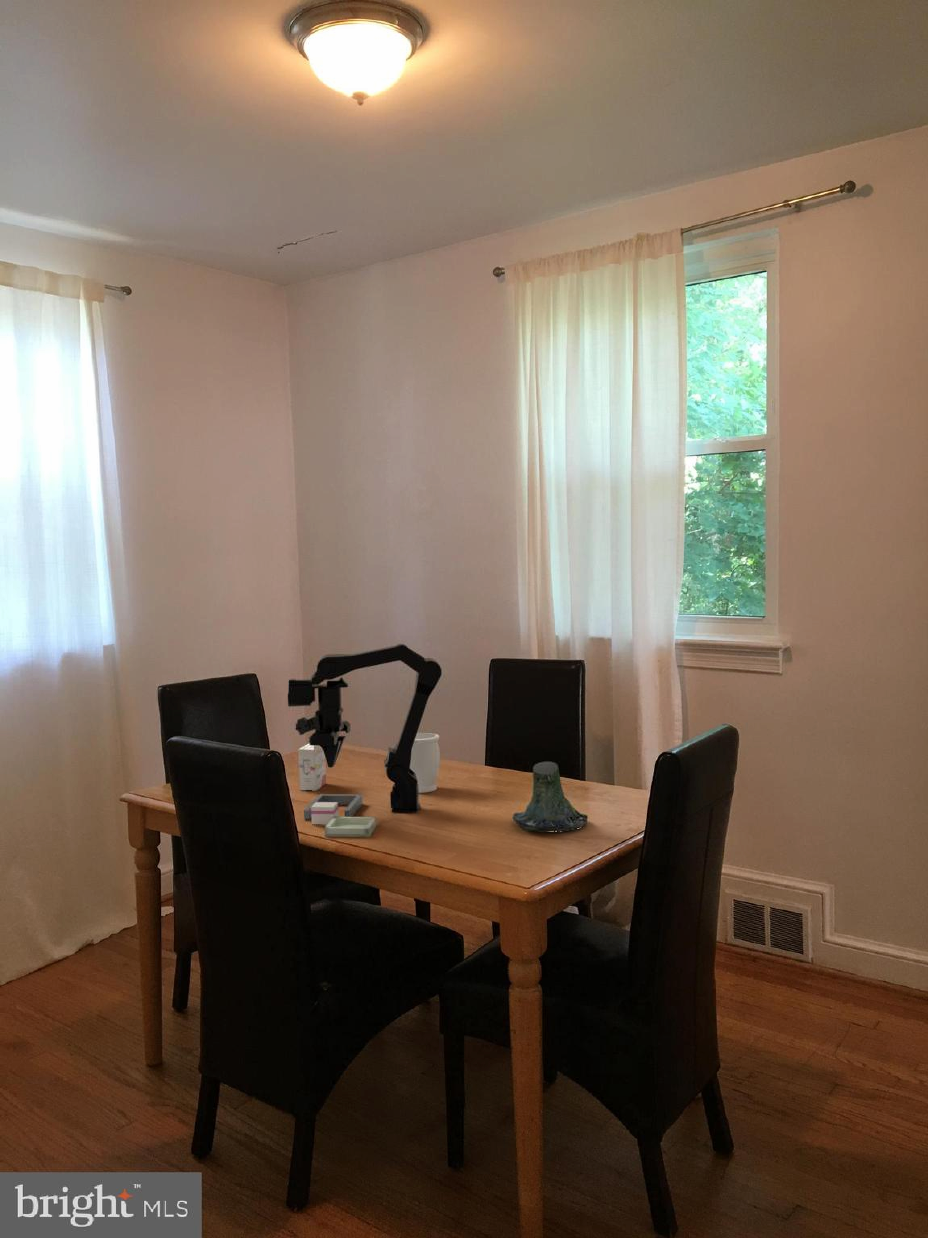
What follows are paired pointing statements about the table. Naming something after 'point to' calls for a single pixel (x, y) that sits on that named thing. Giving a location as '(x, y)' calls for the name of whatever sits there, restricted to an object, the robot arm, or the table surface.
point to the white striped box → (323, 812)
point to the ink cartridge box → (312, 767)
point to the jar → (425, 761)
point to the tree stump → (549, 803)
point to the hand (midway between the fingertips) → (331, 766)
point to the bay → (342, 799)
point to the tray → (350, 827)
